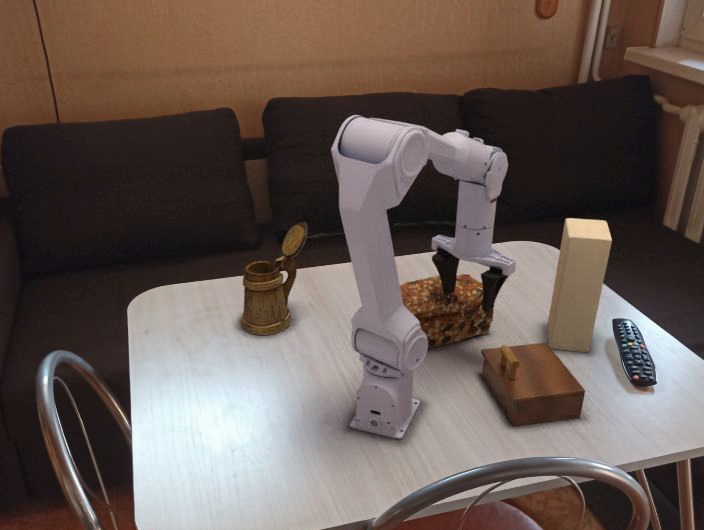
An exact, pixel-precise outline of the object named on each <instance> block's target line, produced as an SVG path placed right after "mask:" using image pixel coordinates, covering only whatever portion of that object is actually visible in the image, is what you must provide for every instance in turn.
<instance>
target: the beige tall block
mask: <svg viewBox="0 0 704 530" xmlns="http://www.w3.org/2000/svg"><path fill="white" fill-rule="evenodd" d="M612 241H613V239H612V235H611V232H610V228H609V225H608V221H607V220H603V219H601V220H600V219H588V218H573V217H572V218H571V217H567V218H565V220H564V224H563V231H562V237H561V242H560V248H559V254H558V261H557V266H556V271H555V278H554V284H553V289H552V291H553V292H552V294H551V301H550V307H549V313H548V319H547V327H546V329H547V338H548V345H549V347H550V348H551V349H552V350H561V351H570V352H578V353H579V352H580V353H589V352H590V347H591V343H592V338H593V334H594V328H595V323H596V319H597V314H598V309H599V305H600V299H601V295H602V290H603V287H604V286H603V285H604V280H605V276H606V272H607V267H608V263H609V257H610V253H611V247H612V244H613V243H612Z"/></svg>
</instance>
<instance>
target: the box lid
mask: <svg viewBox="0 0 704 530" xmlns="http://www.w3.org/2000/svg"><path fill="white" fill-rule="evenodd" d="M480 354H481V355H482V357H483V359H484V358H485V360H486V362H487V363H488V365H489V366H490V368H491V369H492V371H493V372H494V374H495V375H496V377H497V379H498V380H499V382H500V383H501V385H502V386H503V388H504V389H505V391H506V393H507V394H508V396H509V397H510V399H511V400H512V402H513V403H515V402H523V401H531V400H539V399H547V398H555V397H563V396H571V395H579V394H586V390H585V388H584V387H583V386H582V385H581V383H580V381H578V380H577V379H576V377H575V376H574V374H572V372H571V371H570V369H569V368H568V367H567V366H566V365H565V363H564V362H563V361H562V360H561V358H559V356H558V355H557V354H556V352H554V349H551V348H550V347H549V343H547V342H538V343H530V344H528V343H527V344H520V345H519V344H518V345H510V346H509V345H507V344H503V345H501V346H500V347H494V348H484V349H483V348H482V349H480Z"/></svg>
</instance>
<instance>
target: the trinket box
mask: <svg viewBox="0 0 704 530" xmlns="http://www.w3.org/2000/svg"><path fill="white" fill-rule="evenodd" d="M482 361H483V362H482V371H481V376H482V378H483V379H484V380H485V382H486V384H487V385H488V387H489V388H490V390H491V392H492V393H493V395H494V397H495V399H496V400H497V402H498V403H499V405H500V407H501V408H502V410H503V411H504V413H505V415H506V416H507V418H508V420H509V421H510V422H511V425H512V426H513V427H517V426H526V425H533V424H540V423H548V422H555V421H563V420H572V419H579V418H581V414H582V411H583V404H584V400H585V394H586V393H585V394H579V395H571V396H563V397H555V398H547V399H539V400H531V401H523V402H515V403H513V402H512V400H511V399H510V397H509V396H508V394H507V393H506V391H505V389H504V388H503V386H502V385H501V383H500V382H499V380H498V379H497V377H496V375H495V374H494V372H493V371H492V369H491V368H490V366H489V365H488V363H487V362H486V360H485V358H484V357H483V360H482Z"/></svg>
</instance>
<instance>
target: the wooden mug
mask: <svg viewBox="0 0 704 530" xmlns="http://www.w3.org/2000/svg"><path fill="white" fill-rule="evenodd" d="M307 237H308V223H307V222H306V221H304V222H299V223H296V224H295V225H293V226H292V227H290V229H289V230H288V231H287V232H286V234H285V236H284V238H283V241H282V246H281V254H280V256H279V258H276V259H274V260H273V262H272V261H268V260H267V261H266V260H258V261H254V262H251V263H248V264H247V265H246V266H245V268H244V274H243V278H242V286H243V287H244V289H243V290H244V295H243V312H242V316H241V327H242V329H243V330H244V331H245V332H247V333H250V334H253V335H259V336H270V335H274V334H277V333H280V332H282V331H283V330H285V329H288V327H289V326H290V325H291V323H292V317H291V311H290V308H289V307H288V303H289V297H290V293H291V291H292V289H293V286H294V285H295V281H296V278H297V271H298V269H297V264H296V261H295V259H294V257H296V256H297V255H299V253H300V252H301V251H302V249H303V247H304V246H305V243H306V240H307ZM284 271H285V272H286V274H287V277H286V279H285V280H284V274H283V273H282V272H284Z"/></svg>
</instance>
